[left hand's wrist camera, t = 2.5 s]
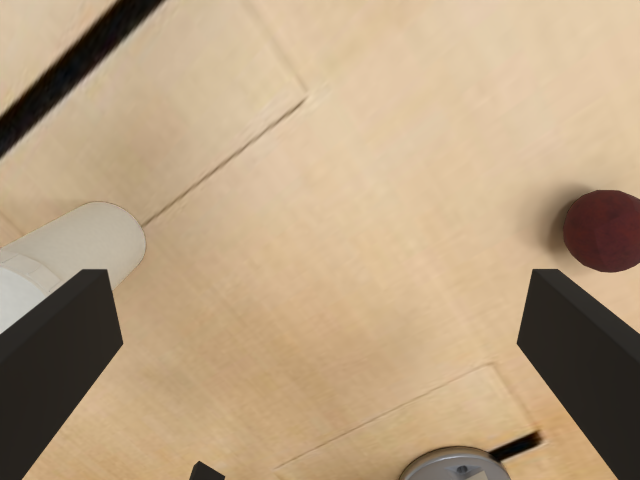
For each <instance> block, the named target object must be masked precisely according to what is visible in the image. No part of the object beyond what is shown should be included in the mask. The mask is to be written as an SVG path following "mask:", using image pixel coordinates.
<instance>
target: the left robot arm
mask: <svg viewBox="0 0 640 480" xmlns="http://www.w3.org/2000/svg"><path fill="white" fill-rule="evenodd" d="M122 345H123V340H122V335H121V330H120V326H119V321H118V317H117V312H116V307H115V303H114V298H113V293H112V289H111V284H110V279H109V275H108V270H107V269H82V270H81V271H79V272H78V273H77V274H76V275H74V276H73V277H72V278H71V279H69V280H68V281H67V282H65V283H64V284H63V285H62V286H60V287H59V288H58V289H57V290H55V291H54V292H53V293H52V294H50V295H49V296H48V297H47V298H45V299H44V300H43V301H42V302H40V303H39V304H38V305H36V306H35V307H34V308H33V309H31V310H30V311H29V312H28V313H26V314H25V315H24V316H23V317H21V318H20V319H19V320H18V321H16V322H15V323H14V324H12V325H11V326H10V327H9V328H7V329H6V330H5V331H4V332H2V333H1V334H0V480H22V479H23V477H24V476H25V475H26V473H27V472H28V470H29V469H30V468H31V466H32V465H33V464H34V462H35V461H36V460H37V458H38V457H39V456H40V454H41V453H42V452H43V450H44V449H45V448H46V446H47V445H48V444H49V442H50V441H51V440H52V438H53V437H54V436H55V434H56V433H57V432H58V430H59V429H60V428H61V426H62V425H63V424H64V422H65V421H66V420H67V418H68V417H69V416H70V414H71V413H72V412H73V410H74V409H75V408H76V406H77V405H78V404H79V402H80V401H81V400H82V398H83V397H84V396H85V394H86V393H87V392H88V390H89V389H90V388H91V386H92V385H93V384H94V382H95V381H96V380H97V378H98V377H99V376H100V374H101V373H102V372H103V370H104V369H105V368H106V366H107V365H108V364H109V362H110V361H111V360H112V358H113V357H114V355H115V354H116V353H117V351H118V350H119V349H120V347H121V346H122ZM517 345H518V346H519V347H520V349H521V350H522V351H523V353H524V354H525V355H526V357H527V358H528V360H529V361H530V362H531V364H532V365H533V366H534V368H535V369H536V370H537V372H538V373H539V374H540V376H541V377H542V378H543V380H544V381H545V382H546V384H547V385H548V386H549V388H550V389H551V390H552V392H553V393H554V394H555V396H556V397H557V398H558V400H559V401H560V402H561V404H562V405H563V406H564V408H565V409H566V410H567V412H568V413H569V414H570V416H571V417H572V418H573V420H574V421H575V422H576V424H577V425H578V426H579V428H580V429H581V430H582V432H583V433H584V434H585V436H586V437H587V438H588V440H589V441H590V442H591V444H592V445H593V446H594V448H595V449H596V450H597V452H598V453H599V454H600V456H601V457H602V458H603V460H604V461H605V462H606V464H607V465H608V466H609V468H610V469H611V470H612V472H613V473H614V475H615V476H616V477H617V479H618V480H640V334H639V333H638V332H636V331H635V330H634V329H633V328H631V327H630V326H629V325H628V324H626V323H625V322H624V321H622V320H621V319H620V318H619V317H617V316H616V315H615V314H614V313H612V312H611V311H610V310H609V309H607V308H606V307H605V306H604V305H602V304H601V303H600V302H598V301H597V300H596V299H595V298H593V297H592V296H591V295H590V294H588V293H587V292H586V291H585V290H583V289H582V288H581V287H580V286H578V285H577V284H576V283H575V282H573V281H572V280H571V279H569V278H568V277H567V276H566V275H564V274H563V273H562V272H561V271H559V270H558V269H533V270H532V275H531V279H530V284H529V289H528V293H527V298H526V303H525V307H524V312H523V317H522V321H521V326H520V330H519V335H518V340H517Z"/></svg>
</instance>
